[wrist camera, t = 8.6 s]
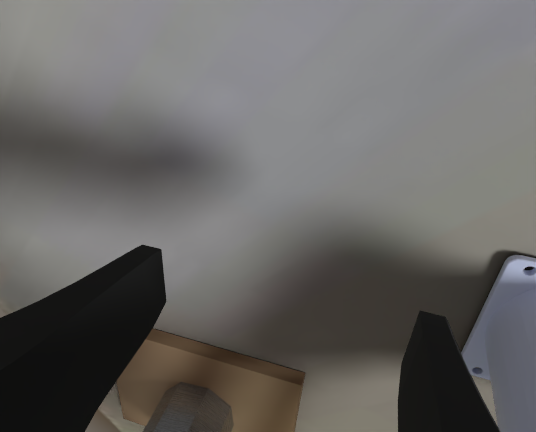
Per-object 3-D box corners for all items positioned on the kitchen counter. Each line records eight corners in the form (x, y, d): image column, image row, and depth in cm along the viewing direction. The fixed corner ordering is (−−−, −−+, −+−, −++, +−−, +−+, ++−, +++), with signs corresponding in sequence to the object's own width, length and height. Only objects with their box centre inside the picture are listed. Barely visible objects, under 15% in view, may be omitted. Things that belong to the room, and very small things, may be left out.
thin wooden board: (305, 373, 28) (288, 437, 25) (288, 461, 35) (273, 522, 31) (114, 317, 31) (73, 367, 28) (130, 408, 37) (98, 458, 34)
